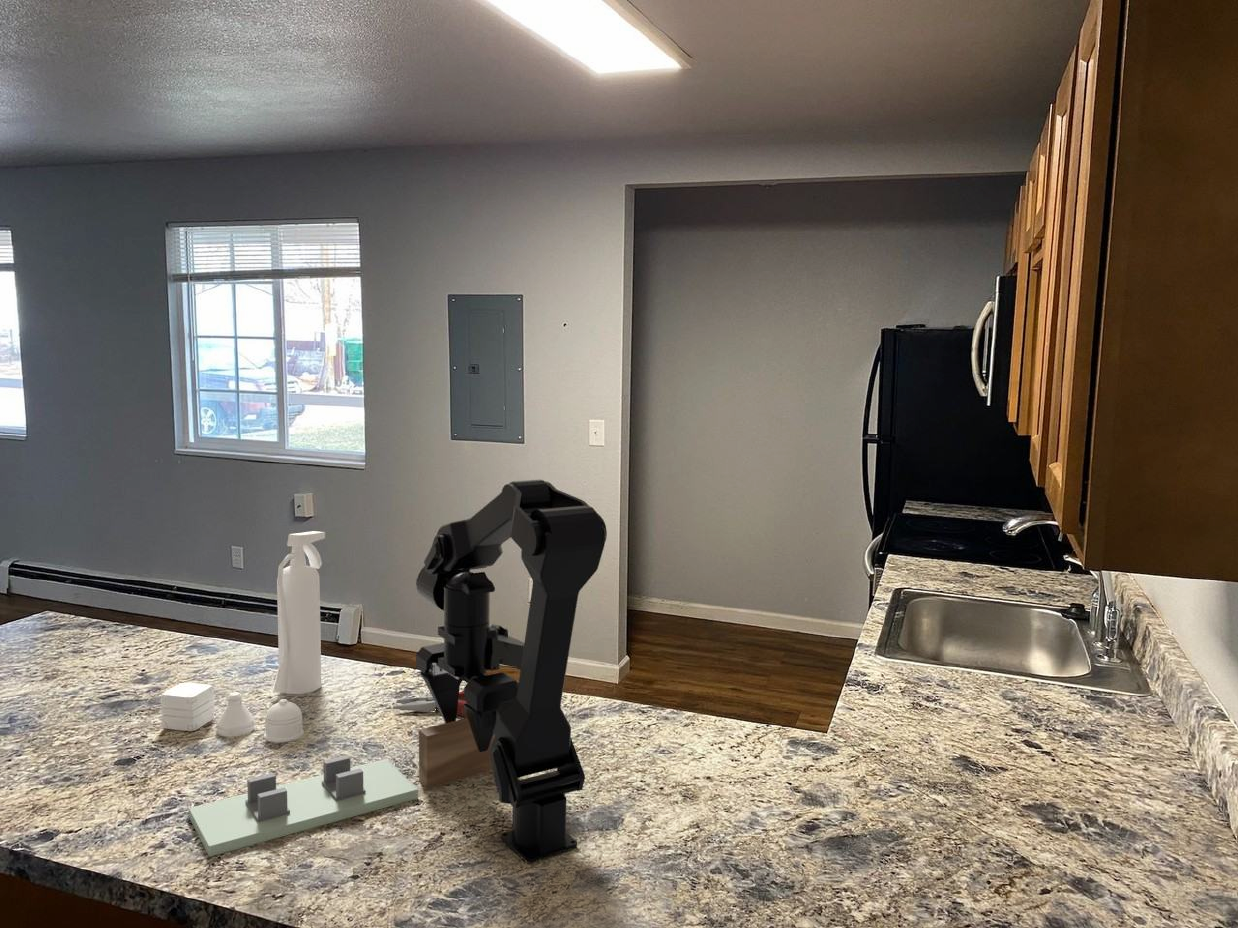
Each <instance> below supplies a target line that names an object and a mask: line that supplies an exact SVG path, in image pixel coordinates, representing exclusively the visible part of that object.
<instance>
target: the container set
mask: <svg viewBox="0 0 1238 928" xmlns="http://www.w3.org/2000/svg"><path fill="white" fill-rule="evenodd" d="M214 690H215V688H214V686H213V685H211V684H205V683H196V682H186V681H185V682H181V683H179V684H177V685H175V686H173V687H171V688H169V689H167V690H166V691H164V692H162V694H161V696H160V712H161V713H160V714H161V716H160V717H161V726H162V727H163V728H164V729H167V730H168V729H169V730H176V731H187V732H193V731H194V732H195V731H197V730H198V729H199V728H202V727H203V726H205V725H206V724H208V723H209V722H210V721H212V720H214V717H215V692H214ZM242 698H243V695H242V694H241V693H240V692H237V691H236V692H231V693H230V694H229V695H228V697H227V699H228V700H227V705H226V707H225V709H224V710H223V712H222V713H221V715H220V716H219V718H218V719H217V721H216V733H217V735H219V736H221V737H226V738H227V737H230V738H231V737H241V736H244V735H247V734H250V733H251V732H253V731H254V729H255V724H256V723H255V717H254V715H253V714H252V713H251V712H250V710H249V709H248V708H247V707H246V705H244V703H243V699H242ZM264 724H265V725H264V726H265V732H264V735H263V738H264V740H266V741H268V742H270V743H278V744H279V743H287V742H292V741H295V740H297V739H300V738H301V737H302V736H303V735H304V733H305V731H304V728H303V713H302V711H301V709H300V707H299V706H298V705H297V704H296V703H294V702H292V701H288V700H287V699H286V698H281V699H280V700H279V701H278V702H277V703H274V704H273V705H272V706H270V707H269V709H268V710H267V712H266V714H265V717H264Z"/></svg>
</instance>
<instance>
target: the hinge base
mask: <svg viewBox="0 0 1238 928" xmlns="http://www.w3.org/2000/svg"><path fill="white" fill-rule="evenodd" d="M322 764H323V774H320V775H316V776H312V777H309V778H304V779H300V780H296V781H292V782H288V783H284V784H280V785H277V776H276V774H275V773H274V772H271V773H268V774H267V773H266V774H263V775H262V774H261V775H259V776H254V777H251V778H247V780H246V781H247V783H246V785H247V793H243V794H240V795H235V796H231V797H227V798H223V799H220V800H215V801H212V802H207V803H203V804H200V805H195V806H191V807H188V818H189V820H190V822H191V824H192V826H193V827H194V830H195V832H196V834H197V835H198V837H199V839H200V841H201V843H202V845H203V847H204V849H205V851H206V852H207V855H208V857H209V858H210V857H214V856H217V855H221V854H225V853H228V852H232V851H235V850H239V849H242V848H246V847H249V846H253V845H256V844H260V843H264V842H267V841H271V840H274V839H278V838H281V837H286V836H288V835H292V834H296V833H299V832H304V831H307V830H310V829H315V828H317V827H321V826H325V825H328V824H332V823H335V822H339V821H342V820H345V819H350V818H353V817H357V816H361V815H364V814H368V813H371V812H374V811H378V810H382V809H385V808H388V807H392V806H396V805H400V804H403V803H407V802H410V801H414V800H417V799H419V789H418V788H417V787H416V785H414V784H413V782H411V781H410V779H408V778H407V777H406V776H405V775H404V774H403V773H402V772H401V771H400V770H399V769H398V768H397V767H396V766H394V764H393V763H391V761H389V760H388V759H387V758H384V759H380V760H377V761H372V762H367V763H364V764H363V763H362V764H360V765H356V766H352V767H351V757H350V756H349V755H348V754H345V755H342V756H337V757H333V758H329V759H325V760H323V763H322Z"/></svg>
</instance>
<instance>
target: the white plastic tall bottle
mask: <svg viewBox="0 0 1238 928" xmlns="http://www.w3.org/2000/svg"><path fill="white" fill-rule="evenodd" d="M325 538H326V532H324V531H318V530H317V531H316V530H312V531H305V532H304V531H303V532H298V533H296V532H295V533H289V534H288V537H287V545H286V546H287V547H291V553H289V554H287V555H286V556H285V557H284V559H283V560H282V561H281V563H280V564H279V565H278V571H277V579H276V593H277V594H276V595H277V596H276V597H277V601H276V602H277V637H278V638H277V640H278V641H277V642H278V645H277V646H278V669H277V672H276V676H275V680H274V683H273V687H272V689H271V691H272V692H273V693H278V694H279V693H281V694H283V693H284V694H287V695H302V694H303V695H304V694H309V693H313V692H316V691H317V690H319V689H321V688H322V652H321V651H322V650H321V649H322V647H321V645H322V643H321V641H322V638H321V637H322V636H321V603H320V602H321V596H320V595H321V594H320V592H321V590H320V588H321V587H320V586H321V585H320V574H319V572H318V570H319V569H320V568H321V567H322V565H323V562H322V557H321V554H320V553H319V551H318V549H317V548H316V547H315V546H314V545H313V544H312V543H315V542H319V541H322V540H324V539H325ZM306 556H307V558H308V562H309V565H307V560H306ZM289 561H290V562H289ZM288 562H289V565H288V566H287V567H285V566H286V564H288Z"/></svg>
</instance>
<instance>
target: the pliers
mask: <svg viewBox="0 0 1238 928" xmlns="http://www.w3.org/2000/svg"><path fill="white" fill-rule="evenodd" d="M395 701H396V704H398V705H393V706H392V709H393V710H399V711H400V710H401V711H410V712H420V713H432V712H431V711H435V712H436V710H438V711H437V712H440V711H439V709H438V707H437V705H436V702H435V701H434V699H433V696H432V695H430V696H429V695H428V696H427V695H426V696H419V697H412V698H404V699H397V700H395ZM464 704H467V702H466V700H465V697H464V691H459V699H458V708H457V716H458V715H459V716H460V717H463V718H468V717H467V714H466V711H465V708H464ZM435 709H436V710H435ZM459 716H458V717H459Z"/></svg>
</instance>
